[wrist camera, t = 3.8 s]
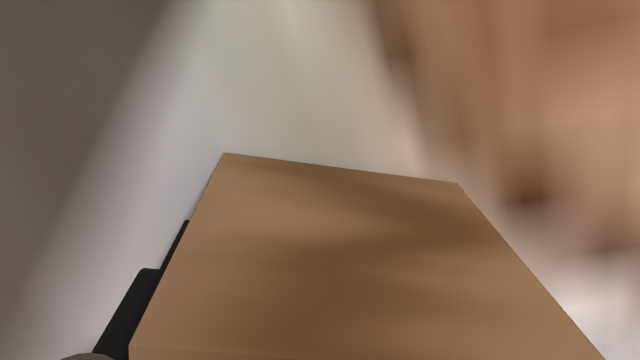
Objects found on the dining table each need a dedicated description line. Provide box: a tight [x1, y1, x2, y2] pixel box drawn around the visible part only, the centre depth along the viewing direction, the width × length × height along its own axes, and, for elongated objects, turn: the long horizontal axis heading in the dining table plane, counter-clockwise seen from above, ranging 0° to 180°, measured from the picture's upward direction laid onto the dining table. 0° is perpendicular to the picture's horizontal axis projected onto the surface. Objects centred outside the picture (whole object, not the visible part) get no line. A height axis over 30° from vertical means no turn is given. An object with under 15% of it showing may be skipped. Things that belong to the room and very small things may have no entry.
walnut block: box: [129, 153, 605, 360], centre depth 9 cm, size 6×6×6 cm
